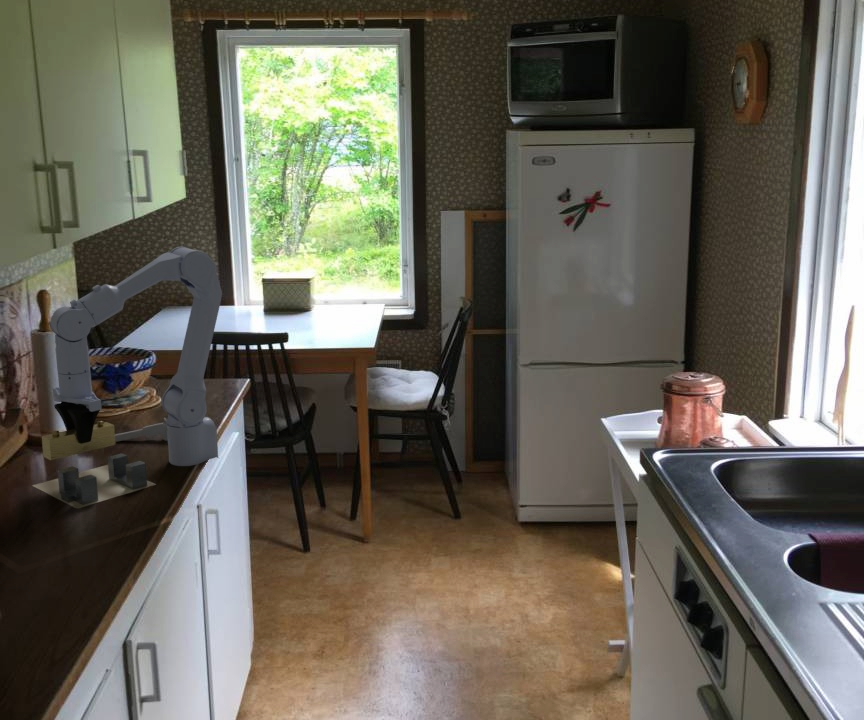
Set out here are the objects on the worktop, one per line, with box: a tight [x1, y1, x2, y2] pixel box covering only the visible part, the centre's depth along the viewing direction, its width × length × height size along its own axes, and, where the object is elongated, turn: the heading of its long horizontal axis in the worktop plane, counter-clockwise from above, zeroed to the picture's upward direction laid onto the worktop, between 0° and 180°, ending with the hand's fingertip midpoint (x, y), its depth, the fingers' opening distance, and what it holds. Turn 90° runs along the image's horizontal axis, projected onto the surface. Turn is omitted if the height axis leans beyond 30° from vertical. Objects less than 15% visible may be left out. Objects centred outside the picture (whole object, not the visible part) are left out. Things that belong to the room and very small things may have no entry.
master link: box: [41, 420, 116, 461], centre depth 173 cm, size 13×3×5 cm, turn 139°
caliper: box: [115, 417, 168, 443], centre depth 198 cm, size 20×1×6 cm, turn 97°
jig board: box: [31, 464, 157, 510], centre depth 172 cm, size 16×17×1 cm
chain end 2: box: [107, 453, 148, 490], centre depth 173 cm, size 4×8×4 cm, turn 49°
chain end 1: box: [56, 465, 98, 505], centre depth 165 cm, size 4×8×4 cm, turn 49°
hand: (80, 440), depth 173 cm, fingers closed on master link, 3 cm apart
